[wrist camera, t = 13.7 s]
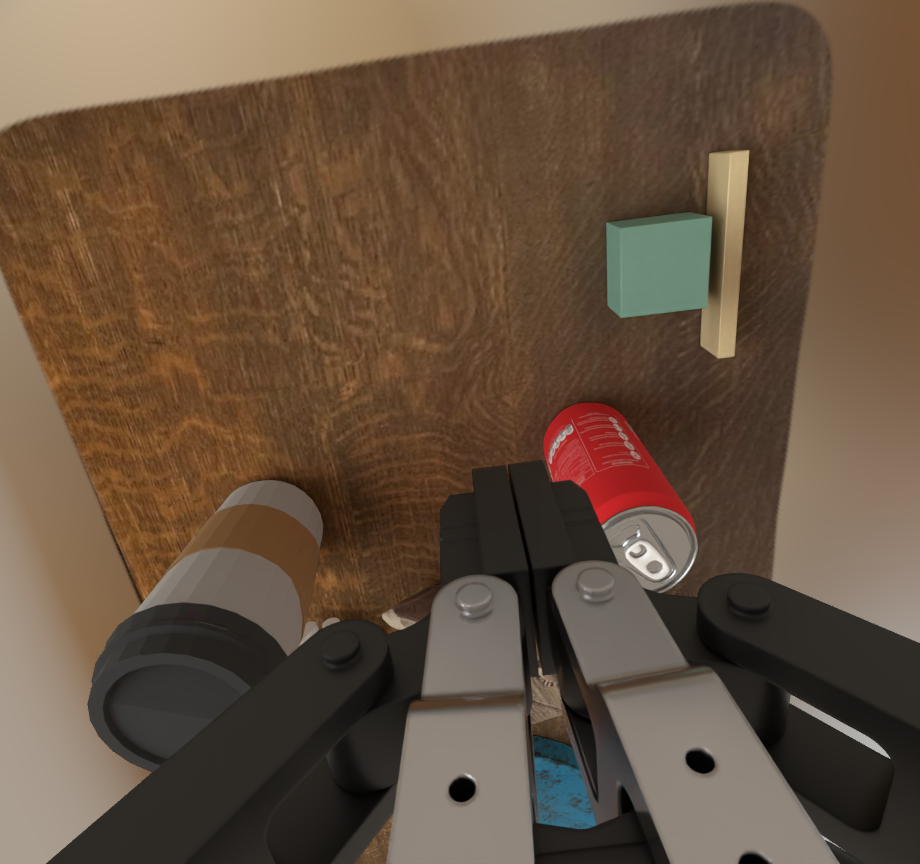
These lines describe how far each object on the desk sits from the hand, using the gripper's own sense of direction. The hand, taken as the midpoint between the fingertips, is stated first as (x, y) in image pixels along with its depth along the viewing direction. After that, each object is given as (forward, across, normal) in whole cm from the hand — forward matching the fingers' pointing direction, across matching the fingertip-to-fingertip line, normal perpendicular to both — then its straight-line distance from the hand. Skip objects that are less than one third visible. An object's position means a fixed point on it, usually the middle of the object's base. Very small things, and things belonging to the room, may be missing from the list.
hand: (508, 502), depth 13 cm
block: (+22, -10, 0) cm, 24 cm away
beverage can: (+22, -6, +10) cm, 25 cm away
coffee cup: (+22, +14, +13) cm, 29 cm away
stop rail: (+22, -13, 0) cm, 25 cm away
